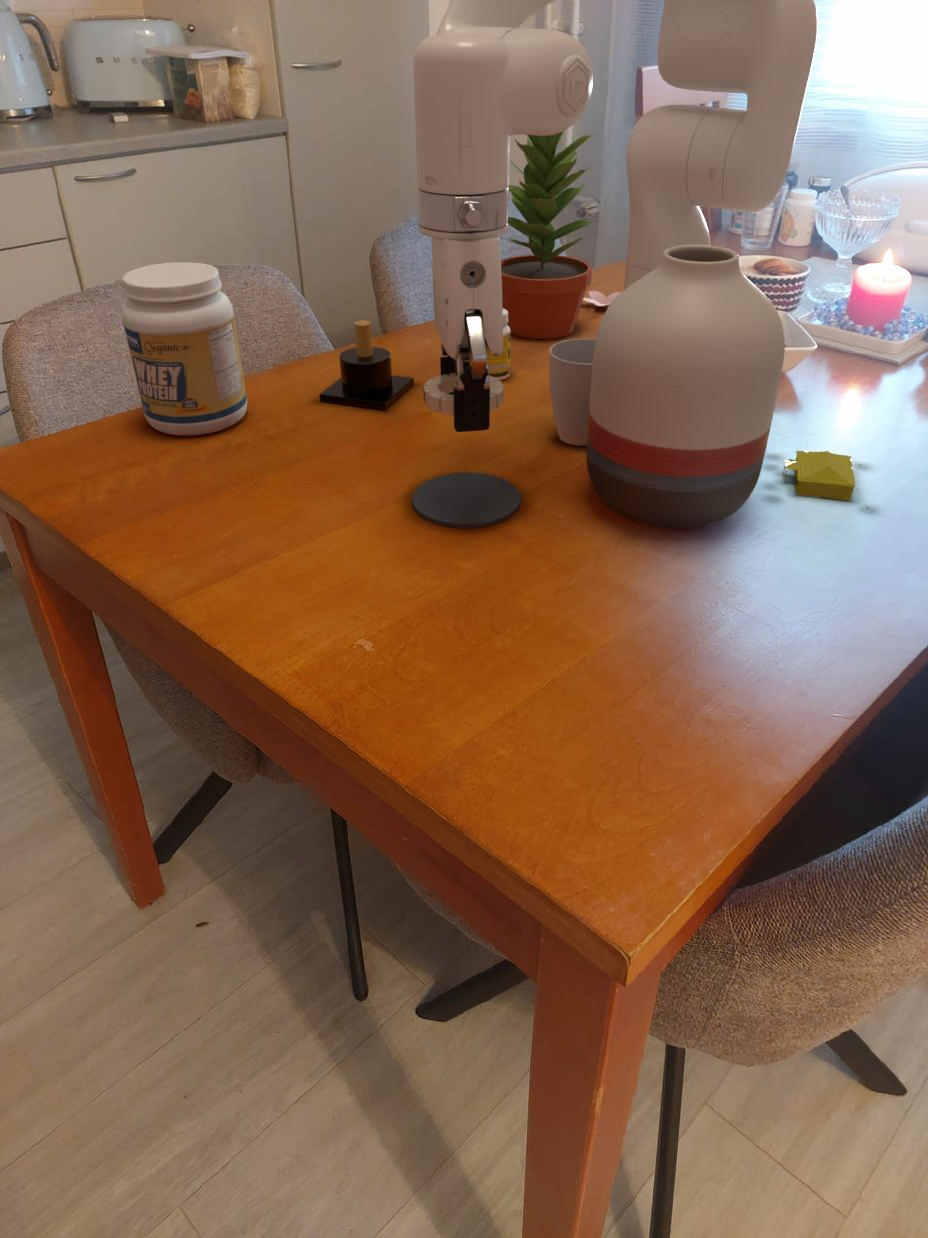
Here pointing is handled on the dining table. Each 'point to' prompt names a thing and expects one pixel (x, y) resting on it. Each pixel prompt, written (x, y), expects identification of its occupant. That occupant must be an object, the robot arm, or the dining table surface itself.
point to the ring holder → (366, 375)
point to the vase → (684, 391)
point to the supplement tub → (184, 348)
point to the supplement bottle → (501, 364)
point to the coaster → (466, 500)
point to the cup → (571, 388)
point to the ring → (444, 402)
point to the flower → (601, 298)
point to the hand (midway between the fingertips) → (464, 411)
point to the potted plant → (544, 245)
